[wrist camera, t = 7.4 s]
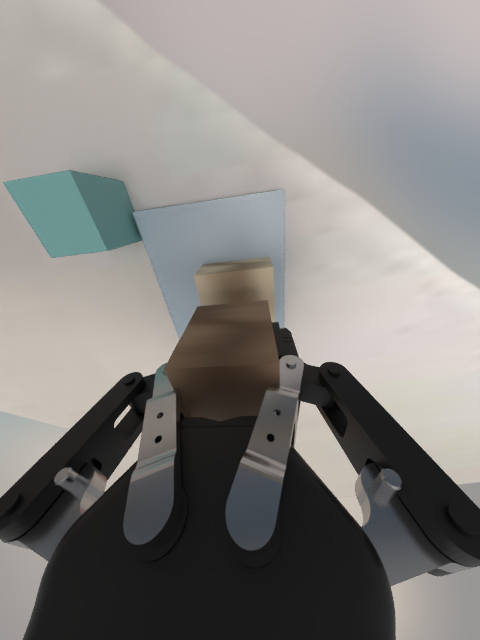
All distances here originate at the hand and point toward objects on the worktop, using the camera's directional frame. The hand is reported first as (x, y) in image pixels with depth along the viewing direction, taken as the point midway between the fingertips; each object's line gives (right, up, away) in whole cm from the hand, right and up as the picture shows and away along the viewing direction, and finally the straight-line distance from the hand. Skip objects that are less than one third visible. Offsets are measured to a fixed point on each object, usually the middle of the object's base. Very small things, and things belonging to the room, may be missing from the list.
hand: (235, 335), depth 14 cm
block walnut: (0, 0, 0) cm, 0 cm away
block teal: (-13, +12, +5) cm, 18 cm away
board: (-2, +5, +8) cm, 10 cm away
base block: (0, +4, +7) cm, 8 cm away
